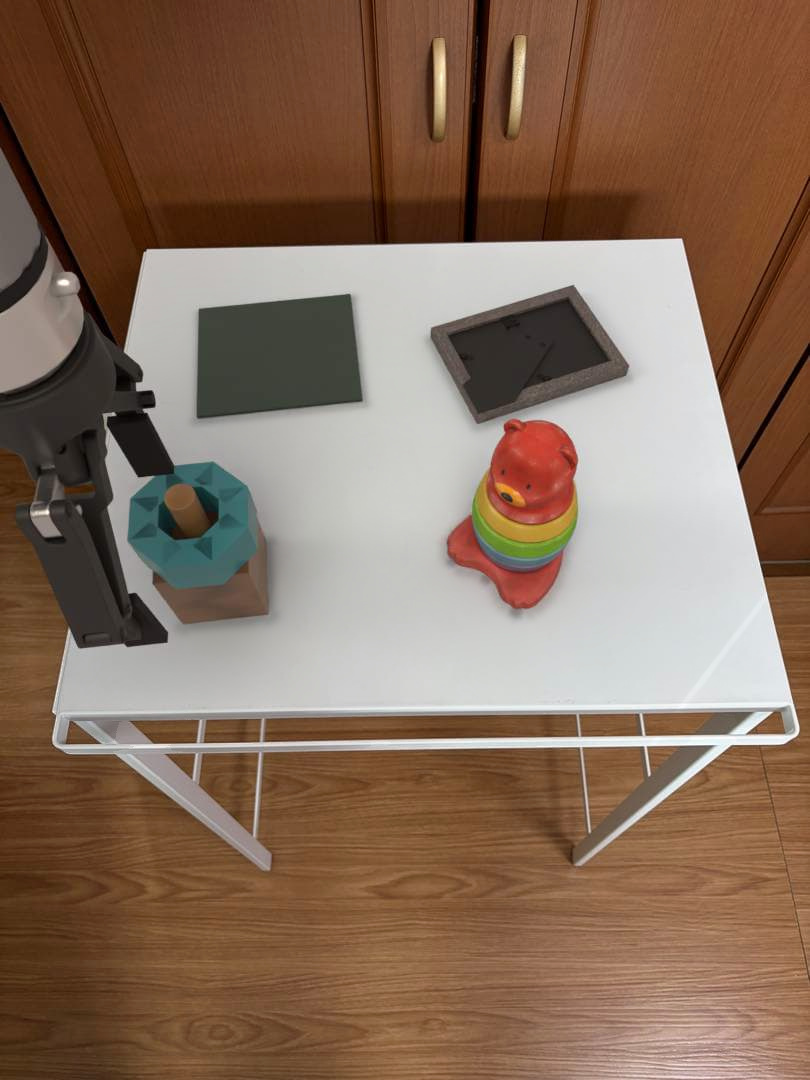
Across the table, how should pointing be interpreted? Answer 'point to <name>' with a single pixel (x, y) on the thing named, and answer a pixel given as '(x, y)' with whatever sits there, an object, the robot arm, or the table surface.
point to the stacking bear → (522, 512)
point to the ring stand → (217, 601)
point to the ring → (194, 557)
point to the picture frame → (527, 353)
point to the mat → (276, 356)
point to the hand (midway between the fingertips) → (152, 551)
